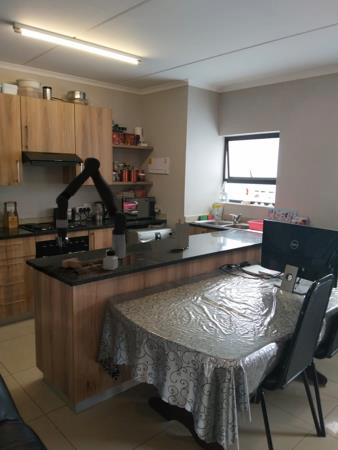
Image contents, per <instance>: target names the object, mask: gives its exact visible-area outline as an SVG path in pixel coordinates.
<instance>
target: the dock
mask: <svg viewBox="0 0 338 450" xmlns="http://www.w3.org/2000/svg"><path fill="white" fill-rule="evenodd" d="M102 269H103V263H98V264H96V263H92V262H89V263H88V266H86V267H84V266H82V267H81V266H76V268H75V272H78V275H84V274H88V273H91V272H96V271H99V270H102Z"/></svg>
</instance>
